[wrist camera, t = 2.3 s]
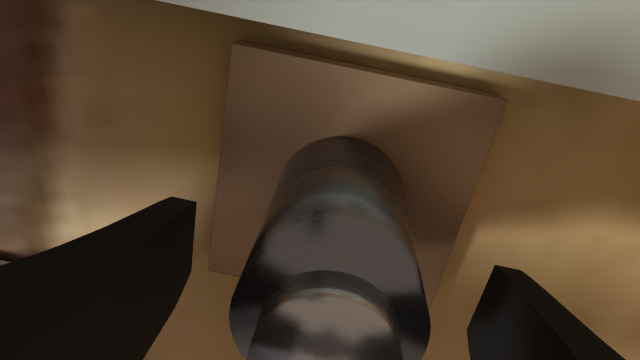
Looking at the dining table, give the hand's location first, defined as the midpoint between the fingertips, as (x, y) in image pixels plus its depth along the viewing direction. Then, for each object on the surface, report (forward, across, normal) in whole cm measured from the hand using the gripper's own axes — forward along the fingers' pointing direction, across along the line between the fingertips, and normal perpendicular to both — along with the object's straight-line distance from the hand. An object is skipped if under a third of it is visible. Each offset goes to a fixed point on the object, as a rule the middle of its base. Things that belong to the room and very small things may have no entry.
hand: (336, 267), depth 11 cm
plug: (+4, 0, 0) cm, 4 cm away
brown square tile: (+5, 0, 0) cm, 5 cm away
